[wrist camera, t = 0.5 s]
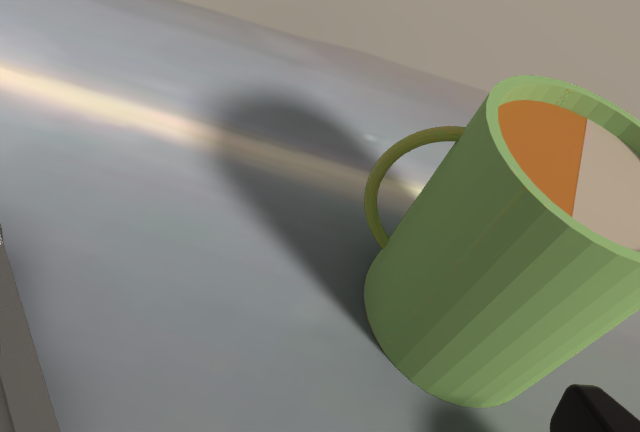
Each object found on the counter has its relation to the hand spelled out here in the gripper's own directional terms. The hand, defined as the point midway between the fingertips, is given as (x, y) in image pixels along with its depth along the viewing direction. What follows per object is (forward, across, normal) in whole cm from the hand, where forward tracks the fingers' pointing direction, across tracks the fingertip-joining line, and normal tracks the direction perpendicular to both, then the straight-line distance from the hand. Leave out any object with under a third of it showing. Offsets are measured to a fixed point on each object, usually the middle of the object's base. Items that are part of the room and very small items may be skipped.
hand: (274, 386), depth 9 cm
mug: (+18, -9, +13) cm, 24 cm away
